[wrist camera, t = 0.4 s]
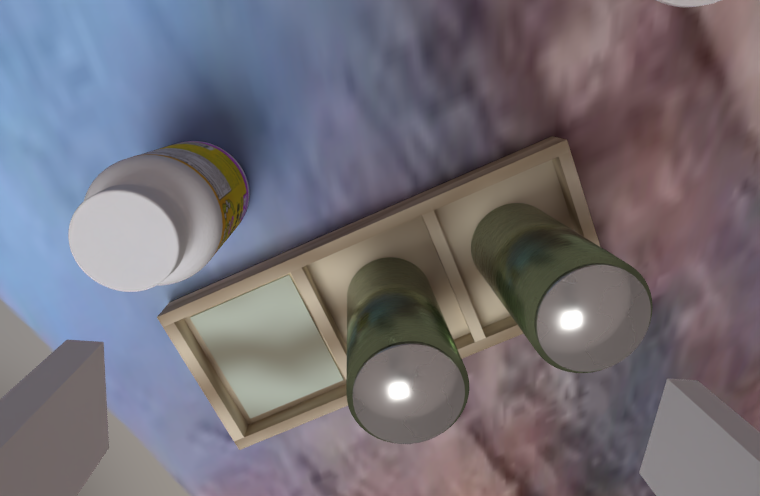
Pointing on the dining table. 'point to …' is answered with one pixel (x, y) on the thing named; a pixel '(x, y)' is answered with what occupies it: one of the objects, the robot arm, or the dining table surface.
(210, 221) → the supplement bottle
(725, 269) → the dining table surface
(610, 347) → the can
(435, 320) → the can
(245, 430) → the caddy
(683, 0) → the panda figurine
